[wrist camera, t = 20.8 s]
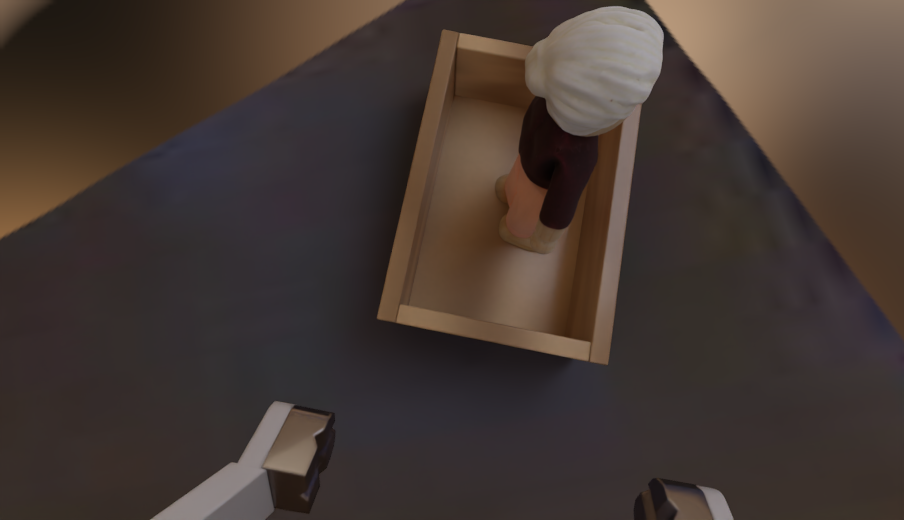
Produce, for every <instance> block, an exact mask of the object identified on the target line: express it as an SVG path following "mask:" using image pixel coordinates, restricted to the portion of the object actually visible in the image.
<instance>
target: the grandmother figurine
mask: <svg viewBox="0 0 904 520" xmlns="http://www.w3.org/2000/svg"><path fill="white" fill-rule="evenodd" d="M663 38H664V35H663V31H662V29H661V27H660V26H659V25H658V23H657V22H656V21H655V20H654V19H653V18H652V17H650V16H649V15H648V14H646V13H644V12H641V11H638V10H633V9H628V8H625V7H620V6H614V7H603V8H599V9H596V10H593V11H589V12H586V13H583V14H581V15H579V16H577V17H575V18H573V19H570V20H567V21H565V22H564V23H562V24H561V25H559V26H558V27H556V28H555V29H554V30H553V31H552V32H551V34H550V35H549V36H548V37H547V38H546V39H544V40H541V41H539V42H537V43H536V44H535V45H534V47H533V48H532V50H531V51H530V52H529V54H528V55H527V57H526V59H525V81H526V85H527V87H528V88H529V90H530V91H531V93H532V94H534V95H535V98H534V99H533V100H532V102H531V104H530V105H529V107H528V110H527V111H526V113H525V115H524V118H523V123H522V130H521V135H520V140H519V148H518V151H519V154H518V156H517V158H516V160H515V163H514V165H513V167H512V169H511V171H510V173H509V174H505V175H502V176H500V177H499V178H498V179H497V181H496V184H495V190H496V195H497V197H498V199H499V200H500V201H502V202H504V203H508V205H509V207H510V208H509V210H508V213H507V214H506V215H505V216H503V217H502V219H501V220H500V224H499V235H500V237H501V238H502V239H503V240H504V241H506V242H508V243H510V244H513V245H515V246H518V247H520V248H523V249H525V250H528V251H533V252H537V253H539V254H549V253H551V252H552V251H554V249H555V248H556V246H557V242H558V239H560V238H561V236H562V235H563V233H564V231H565V229H566V227H568V226H569V224H570V223H571V221H572V219H573V217H574V214H575V212H576V208H577V205H578V201H579V199H580V197H581V194H582V192H583V190H584V188H585V186H586V185H587V183H588V181H589V179H590V176H591V174H592V172H593V170H594V167H595V166H596V163H597V159H598V135H601V134H604V133H606V132H608V131H610V130H612V129H614V128H615V127H617V126H618V125H619V124H621V123H622V122H623V121H624V120H625V119H626V118H627V117H628V116H629V115H630V114H631V113H632V112H633V111H634V109H635V106H636V105H638V104H641V103H643V102H644V101H645V100H646V99H647V98H648V96H649V94H650V92H651V90H652V87H653V85H654V83H655V81H656V80H657V78H658V76H659V74H660V71H661V66H662V59H663V56H662V48H663Z"/></svg>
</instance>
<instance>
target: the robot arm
mask: <svg viewBox="0 0 904 520" xmlns="http://www.w3.org/2000/svg"><path fill="white" fill-rule="evenodd" d="M334 422H335V413H333V412H328V411H323V410H318V409H313V408H308V407H303V406H298V405H295V404H290V403H284V402H279V401H274V403H273V404H272V405H271V406H270V407H269V408H268V410H267V412H266V414H265V415H264V417H263V419H262V421H261V422H260V424H259V426H258V428H257V429H256V431H255V433H254V435H253V437H252V438H251V440H250V442H249V444H248V445H247V447H246V449H245V451H244V452H243V454H242V456H241V458H240V459H239V461H238V463H232V462H231V463H230V464H228V465H227V466H225V467H224V468H223V469H221V470H220V471H218V472H217V473H215V474H214V475H213V476H211V477H210V478H208V479H207V480H206V481H204V482H203V483H201V484H200V485H198V486H197V487H196V488H194V489H193V490H191V491H190V492H189V493H187V494H186V495H184V496H183V497H181V498H180V499H179V500H177V501H176V502H174V503H173V504H172V505H170V506H169V507H167V508H166V509H164V510H163V511H162V512H160V513H159V514H157V515H156V516H155V517H153V518H152V519H150V520H265V519H266V518H267V517H268V516H269V515H270V514H271V513H272V512H273V511H274V508H278V509H283V510H289V511H295V512H300V513H306V514H309V513H310V510H311V508H312V505H313V503H314V500H315V497H316V495H317V492H318V490H319V487H320V479H319V474H320V473H321V472H322V471H324V470H325V469H326V468H327V466H328V463H329V460H330V458H331V454H332V451H333V447H334V442H335V430H334V429H333V428H332V427H333V425H334ZM648 485H649V489H650V490H647V491H644V492H641V493H640V494H639V496H638V497H637V498H636V500H635V506H634V520H734V519H733V517H732V514H731V512H730V510H729V507H728V505H727V502H726V500H725V498H724V496H723V495H722V493H721V492H720V491H718V490H716V489H713V488H708V487H703V486H698V485H694V484H689V483H683V482H678V481H672V480H667V479H661V478H654V479H652V480H651V481H650V482H649V483H648Z"/></svg>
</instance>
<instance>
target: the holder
mask: <svg viewBox="0 0 904 520" xmlns="http://www.w3.org/2000/svg"><path fill="white" fill-rule="evenodd" d="M532 48H533V47H532V46H527V45H521V44H516V43H511V42H506V41H500V40H495V39H490V38H484V37H479V36H474V35H468V34H463V33H460V34H459V33H458V32H454V31H448V30H443V31H442V34H441V38H440V43H439V47H438V51H437V56H436V60H435V64H434V69H433V73H432V78H431V82H430V86H429V91H428V95H427V100H426V104H425V108H424V113H423V117H422V122H421V126H420V130H419V135H418V139H417V143H416V148H415V152H414V157H413V161H412V165H411V170H410V174H409V179H408V183H407V187H406V192H405V196H404V200H403V205H402V209H401V214H400V218H399V222H398V227H397V231H396V236H395V240H394V244H393V249H392V253H391V257H390V262H389V266H388V271H387V275H386V279H385V284H384V288H383V293H382V297H381V301H380V306H379V310H378V314H377V319H379V320H383V321H388V322H393V323H398V324H403V325H408V326H413V327H418V328H423V329H428V330H433V331H438V332H443V333H448V334H453V335H458V336H463V337H468V338H473V339H478V340H483V341H488V342H493V343H498V344H503V345H508V346H513V347H517V348H522V349H527V350H532V351H537V352H542V353H547V354H552V355H557V356H562V357H567V358H572V359H577V360H582V361H587V362H592V363H597V364H602V365H608V361H609V353H610V345H611V338H612V330H613V322H614V314H615V307H616V299H617V291H618V283H619V276H620V268H621V260H622V252H623V245H624V237H625V229H626V222H627V214H628V206H629V198H630V191H631V183H632V175H633V167H634V160H635V152H636V144H637V136H638V129H639V121H640V113H641V105H642V103H641V104H638V105H636V106H635V109H634V111H633V112H632V113H631V114H630V115H629V116H628V117H627V118H626V119H625V120H624V121H623V122H622V123H621V124H619V125H618V126H617V127H615V128H614V129H612V130H610V131H608V132H606V133H604V134H601V135H598V159H597V163H596V166H595V167H594V170H593V172H592V174H591V176H590V179H589V181H588V183H587V185H586V186H585V188H584V190H583V192H582V194H581V197H580V199H579V201H578V205H577V208H576V212H575V214H574V217H573V219H572V221H571V223H570V224H569V226H568V227H566V229H565V231H564V233H563V235H562V236H561V238H560V239H558V242H557V246H556V248H555V249H554V251H552V252H551V253H549V254H539V253H537V252H533V251H528V250H525V249H523V248H520V247H518V246H515V245H513V244H510V243H508V242H506V241H504V240H503V239H502V238H501V237H500V235H499V224H500V220H501V219H502V217H503V216H505V215H506V214H507V213H508V210H509V208H510V207H509V205H508V203H504V202H502V201H500V200H499V199H498V197H497V195H496V190H495V184H496V181H497V179H498V178H499V177H500V176H502V175H505V174H509V173H510V171H511V169H512V167H513V165H514V163H515V160H516V158H517V156H518V154H519V151H518V148H519V140H520V135H521V130H522V123H523V118H524V115H525V113H526V111H527V110H528V107H529V105H530V104H531V102H532V100H533V99H534V98H535V95H534V94H532V93H531V91H530V90H529V88H528V87H527V85H526V81H525V59H526V57H527V55H528V54H529V52H530V51H531V50H532Z"/></svg>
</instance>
